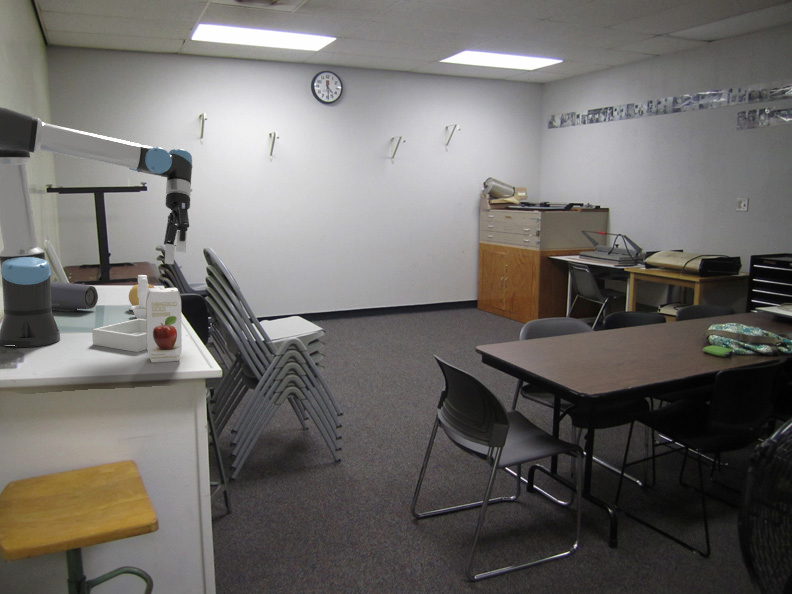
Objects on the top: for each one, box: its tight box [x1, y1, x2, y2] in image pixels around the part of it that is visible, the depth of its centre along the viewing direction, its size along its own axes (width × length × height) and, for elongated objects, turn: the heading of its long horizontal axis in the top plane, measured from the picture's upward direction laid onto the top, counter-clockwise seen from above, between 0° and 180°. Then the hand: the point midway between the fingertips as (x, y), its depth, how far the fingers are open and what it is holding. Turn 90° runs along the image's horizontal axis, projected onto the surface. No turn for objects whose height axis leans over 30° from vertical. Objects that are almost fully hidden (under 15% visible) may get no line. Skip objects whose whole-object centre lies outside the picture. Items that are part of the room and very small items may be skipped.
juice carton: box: [146, 287, 183, 363], centre depth 159 cm, size 8×9×19 cm
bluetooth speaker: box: [51, 281, 99, 312], centre depth 215 cm, size 23×9×10 cm, turn 84°
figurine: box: [130, 274, 149, 319], centre depth 209 cm, size 7×9×15 cm
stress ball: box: [128, 283, 156, 306], centre depth 223 cm, size 10×10×10 cm
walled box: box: [91, 318, 147, 353], centre depth 177 cm, size 18×16×4 cm
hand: (174, 258), depth 191 cm, fingers open, 13 cm apart
